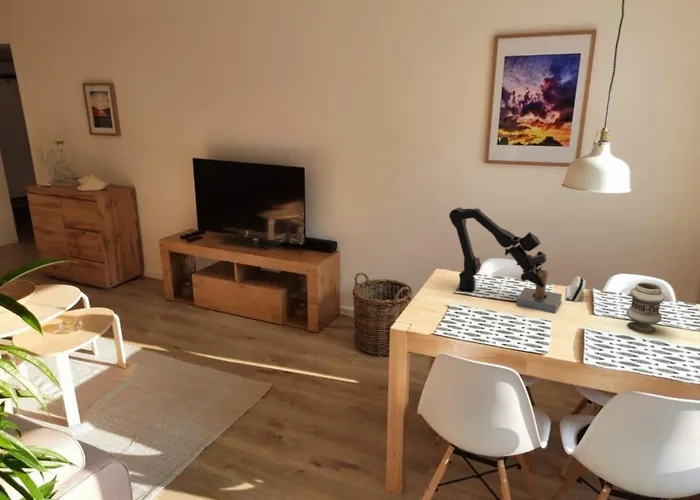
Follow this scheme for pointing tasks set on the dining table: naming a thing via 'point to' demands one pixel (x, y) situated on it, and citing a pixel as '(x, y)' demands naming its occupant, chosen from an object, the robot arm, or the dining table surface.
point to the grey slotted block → (539, 300)
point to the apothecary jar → (645, 307)
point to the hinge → (575, 289)
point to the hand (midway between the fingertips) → (544, 285)
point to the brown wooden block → (543, 276)
